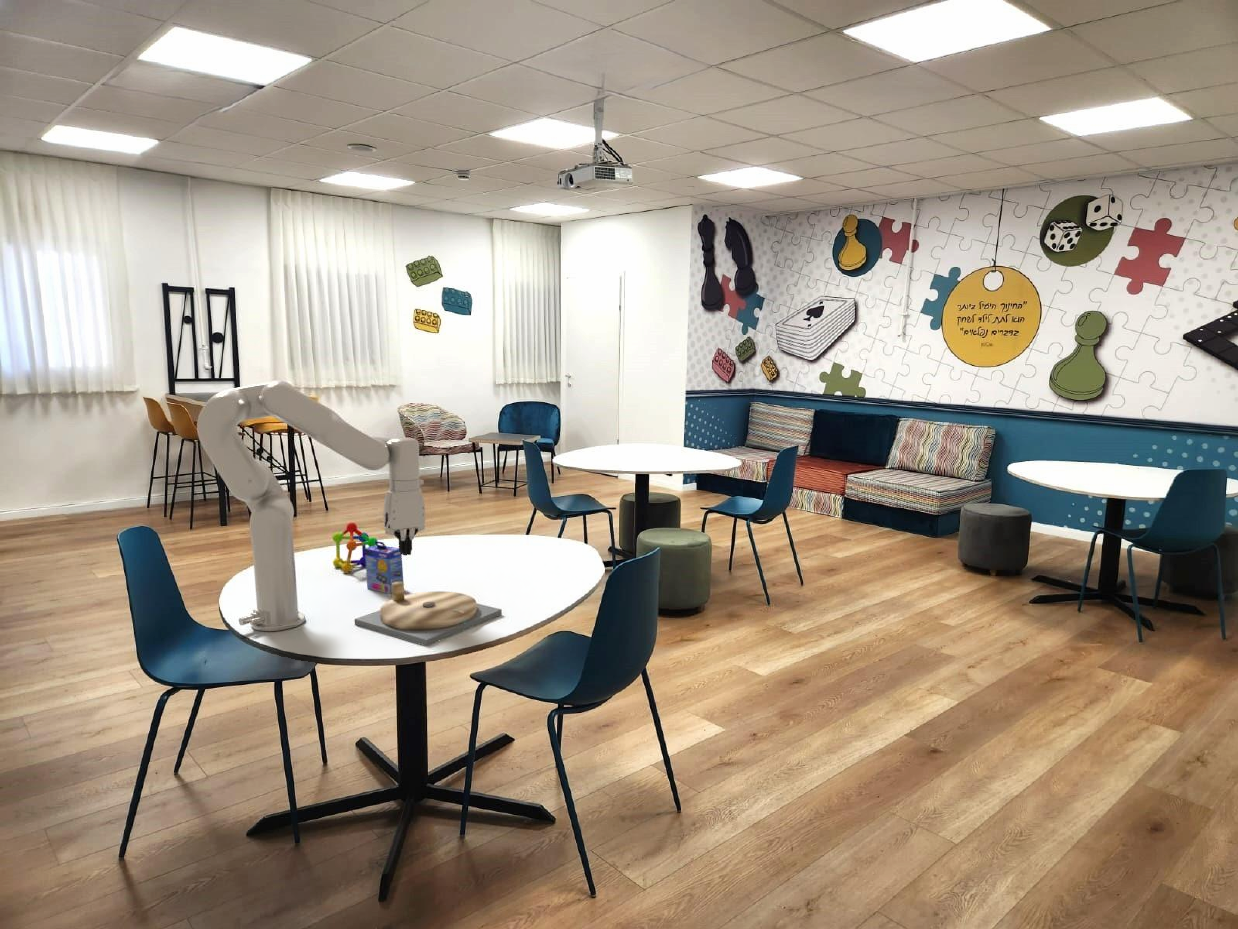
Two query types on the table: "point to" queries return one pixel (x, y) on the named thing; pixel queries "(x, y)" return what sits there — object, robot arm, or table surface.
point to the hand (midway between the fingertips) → (405, 554)
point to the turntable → (426, 609)
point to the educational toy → (351, 547)
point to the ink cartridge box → (383, 567)
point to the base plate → (430, 635)
